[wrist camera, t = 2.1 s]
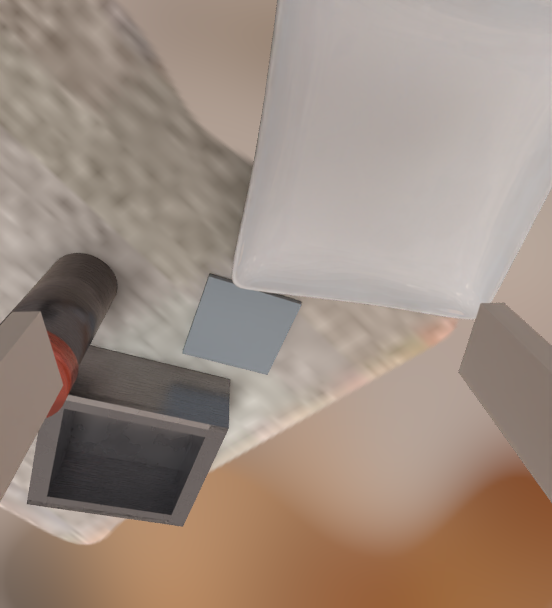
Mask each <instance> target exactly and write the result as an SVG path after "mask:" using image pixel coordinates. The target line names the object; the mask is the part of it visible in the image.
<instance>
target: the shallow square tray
mask: <svg viewBox="0 0 552 608" xmlns="http://www.w3.org/2000/svg"><path fill="white" fill-rule="evenodd" d="M78 369H79V370H78V376H77V379H76V381H75V383H74V384H73V386H72V388H71V390H70V392H69V394H68V396H67V398H66V400H65V402H64V404H63V406H62V407H61V409H60V410H59V411H58V412H56V413H55V414H54V415H52V416H50V417H48V418H46V419H45V420H44V422H43V424H42V426H41V427H40V429H39V431H38V437H37V443H36V450H35V456H34V462H33V468H32V475H31V481H30V487H29V493H28V500H27V504H30V505H37V506H44V507H51V508H58V509H65V510H72V511H78V512H85V513H92V514H99V515H106V516H113V517H120V518H127V519H134V520H142V521H148V522H155V523H162V524H169V525H176V526H183V525H184V523H185V521H186V519H187V517H188V514H189V512H190V510H191V508H192V506H193V504H194V502H195V499H196V497H197V495H198V493H199V491H200V489H201V487H202V484H203V482H204V480H205V478H206V476H207V474H208V472H209V469H210V467H211V465H212V463H213V461H214V459H215V457H216V454H217V452H218V450H219V448H220V446H221V444H222V441H223V439H224V437H225V435H226V433H227V431H228V429H229V388H230V379H226V378H221V377H217V376H213V375H209V374H205V373H201V372H197V371H193V370H189V369H184V368H180V367H176V366H172V365H168V364H164V363H160V362H156V361H152V360H147V359H143V358H139V357H135V356H131V355H127V354H123V353H119V352H115V351H110V350H106V349H102V348H98V347H94V346H89V348H88V350H87V352H86V353H85V355H84V357H83V359H82V361H81V363H80V365H79V367H78Z"/></svg>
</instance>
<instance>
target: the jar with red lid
mask: <svg viewBox="0 0 552 608" xmlns="http://www.w3.org/2000/svg"><path fill="white" fill-rule="evenodd" d="M116 293H117V280H116V277H115V275H114V273H113V272H112V270H111V269H110V268H109V267H108V266H107V265H106V264H105V263H104V262H103V261H101V260H100V259H98V258H96V257H94V256H91V255H87V254H81V253H75V254H69V255H66V256H63V257H61V258H60V259H59V260H57V261H56V262H55V264H54V265H53V266H52V267H51V268H50V269H49V270H48V271H47V273H46V274H45V275H44V276H43V277H42V278H41V279H40V280H39V281H38V283H37V284H36V285H35V286H34V287H33V288H32V289H31V290H30V291H29V293H28V294H27V295H26V296H25V297H24V298H23V299H22V300H21V302H20V303H19V304H18V305H17V306H16V307H15V308H14V309H13V310H12V312H31V311H41V314H42V317H43V321H44V324H45V327H46V330H47V334H48V337H49V340H50V343H51V347H52V350H53V353H54V356H55V360H56V363H57V366H58V369H59V373H60V376H61V379H62V382H63V387H62V389H61V390H60V392H59V394H58V396H57V398H56V400H55V402H54V403H53V405H52V407H51V409H50V411H49V413H48V414H47V416H46V418H48V417H50V416H52V415H54V414H55V413H56V412H58V411H59V410H60V409H61V407H62V406H63V404H64V402H65V400H66V398H67V396H68V394H69V392H70V390H71V388H72V386H73V384H74V383H75V381H76V379H77V376H78V370H79V369H78V367H79V365H80V363H81V361H82V359H83V357H84V355H85V353H86V352H87V350H88V348H89V346H90V344H91V342H92V340H93V338H94V336H95V334H96V332H97V330H98V328H99V326H100V324H101V323H102V321H103V319H104V317H105V315H106V313H107V311H108V309H109V307H110V305H111V303H112V301H113V299H114V297H115V295H116ZM12 312H11V313H12ZM11 313H10V314H11ZM10 314H9V315H10ZM9 315H8V316H9ZM8 316H7V317H8ZM7 317H6V318H7ZM6 318H5V319H6ZM5 319H4V320H3V322H4V321H5ZM3 322H2V323H3ZM2 323H1V324H2ZM1 324H0V325H1ZM46 418H45V419H46Z"/></svg>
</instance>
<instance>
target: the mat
mask: <svg viewBox="0 0 552 608" xmlns="http://www.w3.org/2000/svg"><path fill="white" fill-rule="evenodd" d="M300 307H301V302H300V301H297V300H294V299H291V298H287V297H284V296H281V295H278V294H274V293H268V292H261V291H254V290H247V289H242V288H239V287H237V286H236V285H235V284H234V283H233V281H232V280H229V279H226V278H222V277H219V276H216V275H213V274H209V277H208V280H207V283H206V286H205V288H204V291H203V294H202V297H201V300H200V303H199V306H198V309H197V311H196V314H195V317H194V320H193V323H192V326H191V329H190V331H189V334H188V337H187V340H186V343H185V346H184V349H183V354H187V355H191V356H195V357H199V358H203V359H207V360H211V361H214V362H218V363H222V364H226V365H230V366H234V367H238V368H242V369H246V370H250V371H254V372H258V373H262V374H266V375H268V372H269V370H270V368H271V366H272V364H273V362H274V360H275V358H276V356H277V354H278V352H279V350H280V348H281V346H282V344H283V342H284V340H285V338H286V335H287V333H288V331H289V329H290V327H291V325H292V323H293V321H294V319H295V317H296V315H297V313H298V311H299V309H300Z"/></svg>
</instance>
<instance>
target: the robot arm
mask: <svg viewBox="0 0 552 608" xmlns="http://www.w3.org/2000/svg"><path fill="white" fill-rule="evenodd" d="M459 374H460V375H461V376H462V378H463V379H464V381H465V382H466V383H467V385H468V386H469V388H470V389H471V390H472V392H473V393H474V395H475V396H476V397H477V399H478V400H479V402H480V403H481V404H482V406H483V407H484V409H485V410H486V411H487V413H488V414H489V415H490V417H491V418H492V420H493V421H494V422H495V424H496V425H497V427H498V428H499V430H500V431H501V432H502V434H503V435H504V437H505V438H506V439H507V441H508V442H509V444H510V445H511V446H512V448H513V449H514V451H515V452H516V453H517V455H518V456H519V458H520V459H521V460H522V462H523V463H524V465H525V466H526V467H527V469H528V470H529V472H530V473H531V474H532V476H533V477H534V479H535V480H536V481H537V483H538V484H539V485H540V487H541V488H542V490H543V491H544V492H545V494H546V495H547V497H548V498H549V499H550V501H551V502H552V345H550V344H549V343H548V342H547V341H546V340H545V339H544V338H543V337H542V336H540V335H539V334H538V333H537V332H536V331H535V330H534V329H532V327H530V326H529V325H528V324H527V323H526V322H525V321H524V320H522V319H521V318H520V317H519V316H518V315H517V314H516V313H515V312H514V311H513V310H511V309H510V308H509V307H508V306H507V305H506V304H505V303H481V304H480V307H479V310H478V313H477V316H476V319H475V322H474V325H473V328H472V332H471V335H470V338H469V341H468V344H467V347H466V350H465V354H464V356H463V360H462V363H461V366H460V369H459ZM62 387H63V382H62V379H61V376H60V373H59V369H58V366H57V363H56V360H55V356H54V353H53V350H52V347H51V343H50V340H49V337H48V334H47V330H46V327H45V324H44V321H43V317H42V314H41V311H31V312H12V313H11V314H10V315H9V316H8V317H7V318H6V319H5V321H4V322H3V323H2V324H1V325H0V501H1V500H2V498H3V496H4V494H5V492H6V490H7V488H8V487H9V485H10V483H11V481H12V479H13V477H14V475H15V474H16V472H17V470H18V468H19V466H20V464H21V463H22V461H23V459H24V457H25V455H26V453H27V451H28V450H29V448H30V446H31V444H32V442H33V440H34V439H35V437H36V435H37V433H38V431H39V429H40V427H41V426H42V424H43V422H44V420H45V418H46V416H47V414H48V413H49V411H50V409H51V407H52V405H53V403H54V402H55V400H56V398H57V396H58V394H59V392H60V390H61V389H62Z"/></svg>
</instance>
